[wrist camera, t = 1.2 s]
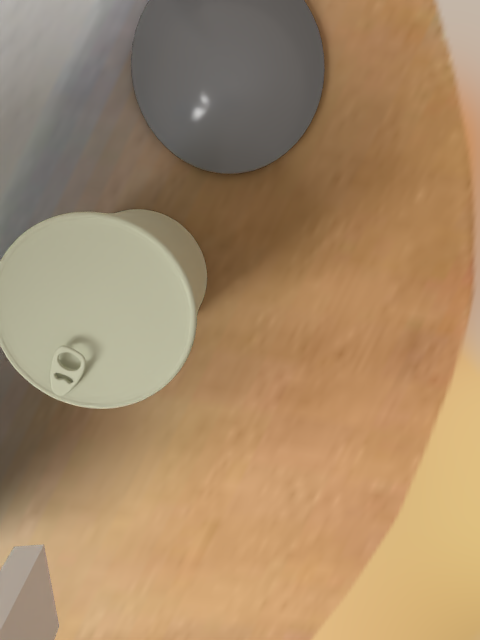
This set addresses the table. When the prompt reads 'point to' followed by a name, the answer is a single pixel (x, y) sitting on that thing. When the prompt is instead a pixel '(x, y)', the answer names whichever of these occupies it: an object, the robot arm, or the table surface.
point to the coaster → (228, 78)
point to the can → (101, 305)
